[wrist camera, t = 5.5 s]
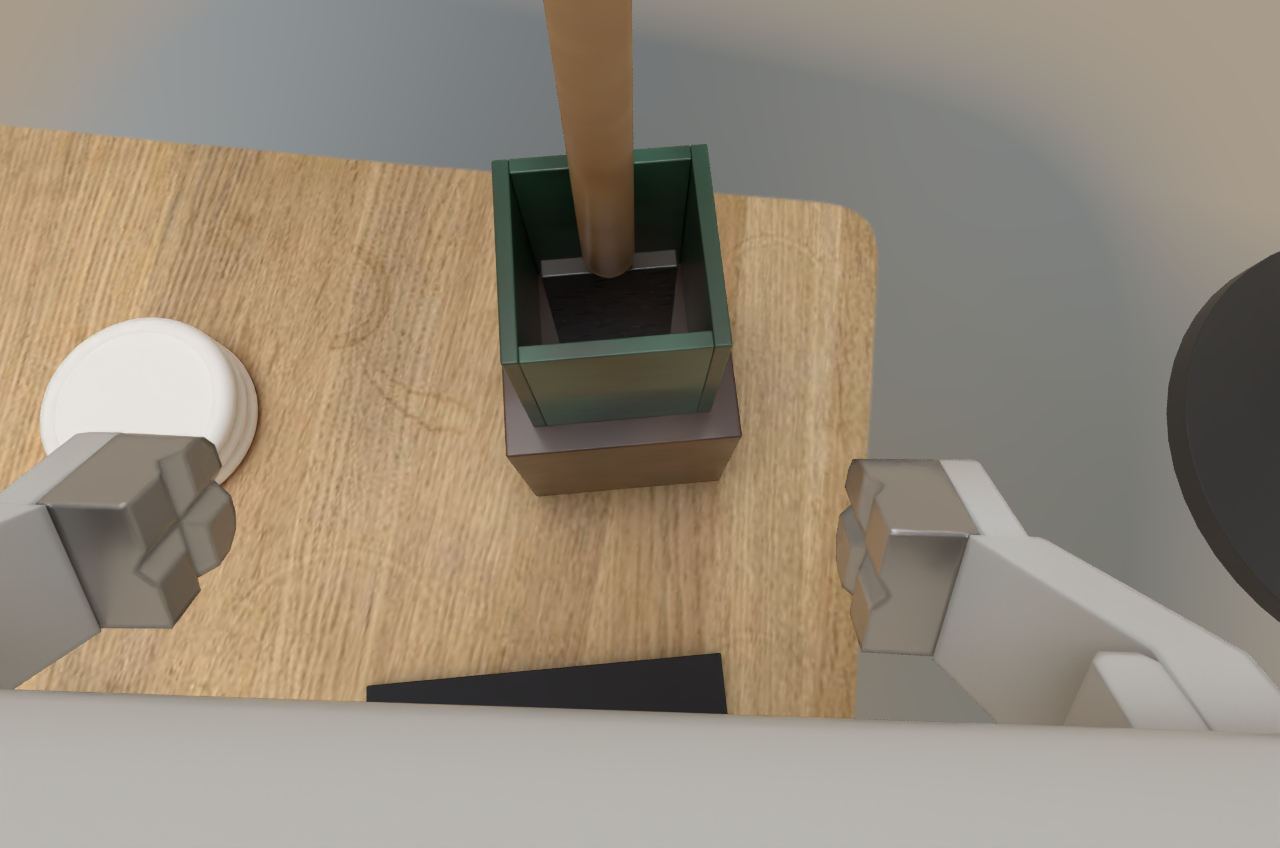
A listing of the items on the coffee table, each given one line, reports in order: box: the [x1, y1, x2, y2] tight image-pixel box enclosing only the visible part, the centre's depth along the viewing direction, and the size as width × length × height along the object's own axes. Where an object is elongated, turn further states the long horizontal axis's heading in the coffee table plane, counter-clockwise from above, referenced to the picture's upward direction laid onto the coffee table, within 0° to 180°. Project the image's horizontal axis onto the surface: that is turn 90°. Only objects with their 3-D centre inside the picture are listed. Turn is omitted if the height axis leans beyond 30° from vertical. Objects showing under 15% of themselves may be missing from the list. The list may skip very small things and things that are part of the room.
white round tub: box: [40, 318, 258, 485], centre depth 42 cm, size 10×10×4 cm
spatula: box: [540, 0, 678, 343], centre depth 24 cm, size 5×2×21 cm, turn 95°
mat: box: [367, 653, 727, 714], centre depth 38 cm, size 18×14×1 cm
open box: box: [492, 144, 742, 496], centre depth 35 cm, size 10×10×18 cm
